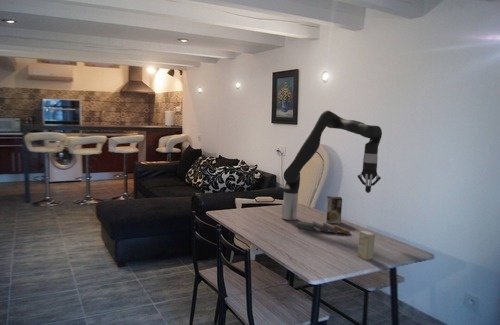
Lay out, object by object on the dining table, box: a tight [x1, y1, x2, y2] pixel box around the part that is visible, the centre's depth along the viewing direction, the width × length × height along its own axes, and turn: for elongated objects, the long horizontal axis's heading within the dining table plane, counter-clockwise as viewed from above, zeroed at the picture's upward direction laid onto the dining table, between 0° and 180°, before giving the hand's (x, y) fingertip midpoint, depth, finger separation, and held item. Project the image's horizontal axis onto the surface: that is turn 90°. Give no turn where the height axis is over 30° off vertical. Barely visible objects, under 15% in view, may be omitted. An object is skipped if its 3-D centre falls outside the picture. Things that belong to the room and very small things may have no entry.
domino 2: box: [297, 226, 315, 231], centre depth 229 cm, size 2×5×9 cm
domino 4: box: [321, 222, 339, 235], centre depth 223 cm, size 2×5×9 cm
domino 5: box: [332, 223, 351, 236], centre depth 221 cm, size 2×5×9 cm
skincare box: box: [357, 230, 376, 261], centre depth 182 cm, size 6×4×12 cm
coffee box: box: [325, 195, 343, 224], centre depth 246 cm, size 9×6×16 cm
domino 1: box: [296, 221, 313, 229], centre depth 229 cm, size 2×5×9 cm
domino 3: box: [311, 220, 329, 233], centre depth 224 cm, size 2×5×9 cm
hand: (367, 192), depth 215 cm, fingers closed
